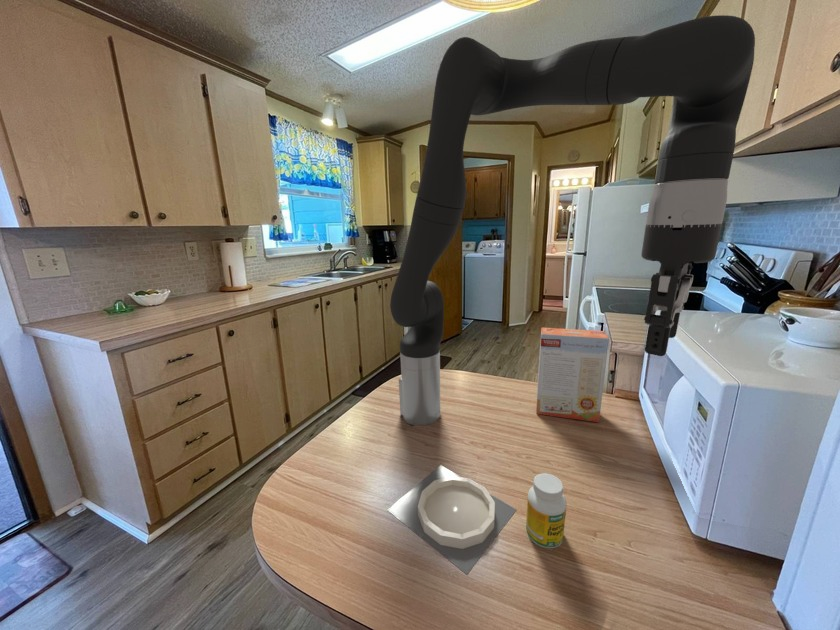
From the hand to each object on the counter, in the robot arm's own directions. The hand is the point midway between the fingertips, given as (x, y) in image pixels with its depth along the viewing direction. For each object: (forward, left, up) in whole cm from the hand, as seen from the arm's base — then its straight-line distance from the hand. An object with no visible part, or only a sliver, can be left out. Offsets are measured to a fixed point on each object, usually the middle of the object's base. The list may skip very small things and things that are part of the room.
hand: (660, 344), depth 46 cm
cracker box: (-19, +24, -30) cm, 42 cm away
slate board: (-22, -18, -29) cm, 41 cm away
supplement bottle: (-9, -12, -30) cm, 33 cm away
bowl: (-21, -18, -29) cm, 40 cm away
